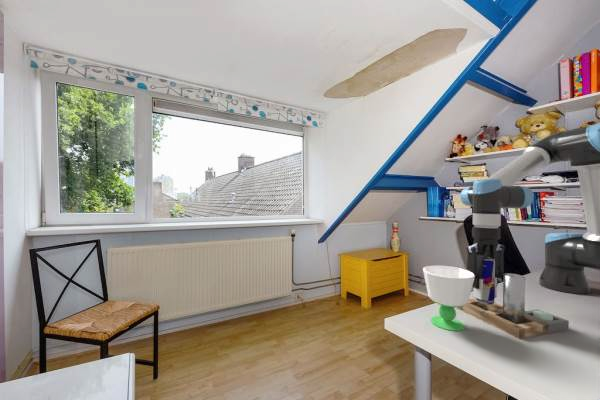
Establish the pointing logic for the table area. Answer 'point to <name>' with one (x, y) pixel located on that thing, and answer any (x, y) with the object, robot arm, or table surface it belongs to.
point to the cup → (448, 293)
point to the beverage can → (488, 282)
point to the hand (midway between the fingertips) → (485, 297)
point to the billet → (514, 298)
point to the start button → (543, 315)
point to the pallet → (496, 319)
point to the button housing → (552, 322)
